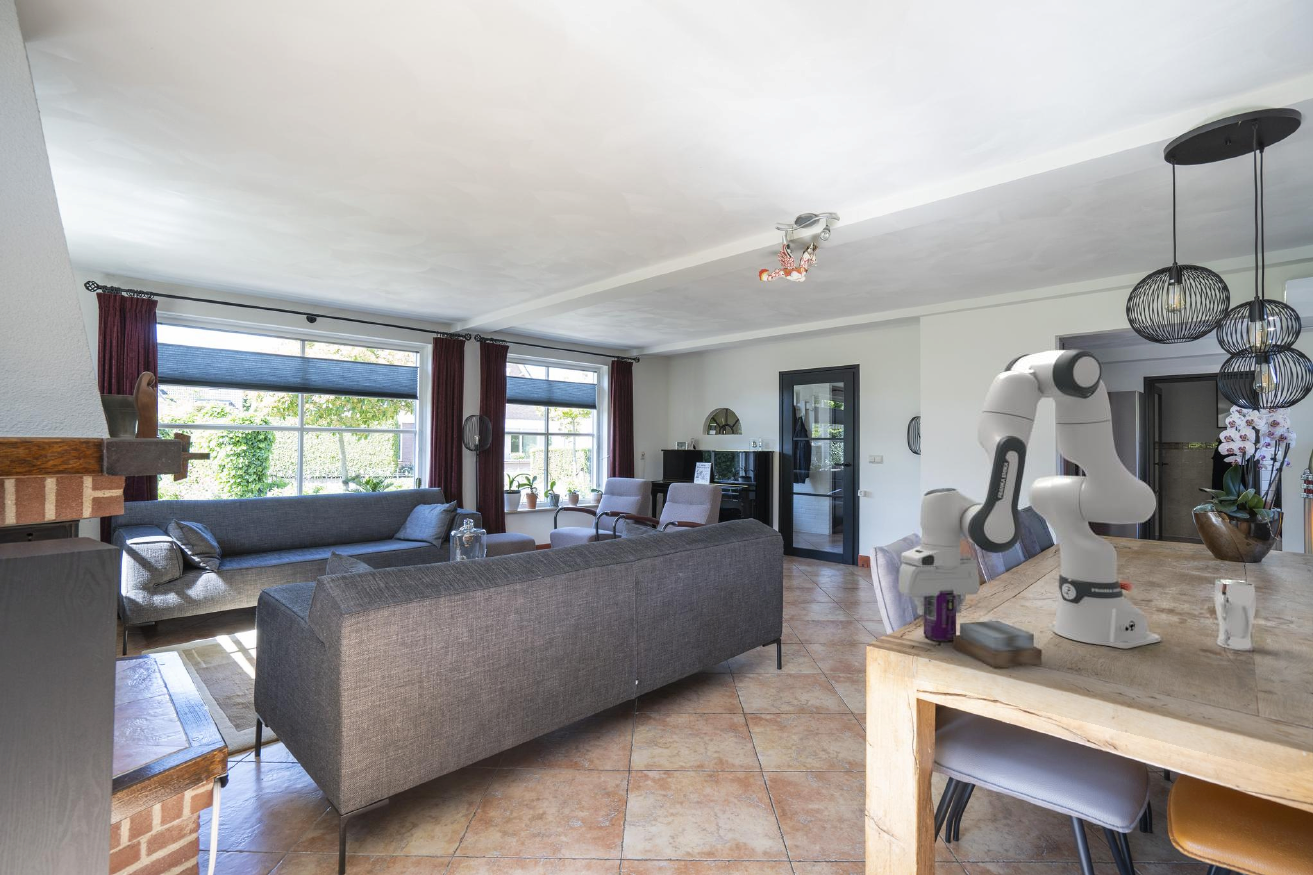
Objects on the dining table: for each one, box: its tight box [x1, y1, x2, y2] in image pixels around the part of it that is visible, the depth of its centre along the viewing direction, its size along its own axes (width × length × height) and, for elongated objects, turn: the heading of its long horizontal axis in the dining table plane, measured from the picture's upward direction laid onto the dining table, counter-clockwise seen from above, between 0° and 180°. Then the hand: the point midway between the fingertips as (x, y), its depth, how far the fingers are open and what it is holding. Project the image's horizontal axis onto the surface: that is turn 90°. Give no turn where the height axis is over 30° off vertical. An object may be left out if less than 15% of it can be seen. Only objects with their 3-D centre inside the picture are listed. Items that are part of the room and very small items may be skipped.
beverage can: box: [923, 590, 957, 642], centre depth 143 cm, size 7×7×12 cm
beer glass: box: [1213, 578, 1257, 652], centre depth 138 cm, size 7×7×15 cm
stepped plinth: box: [952, 620, 1043, 669], centre depth 131 cm, size 12×12×6 cm
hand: (939, 613), depth 142 cm, fingers open, 8 cm apart
